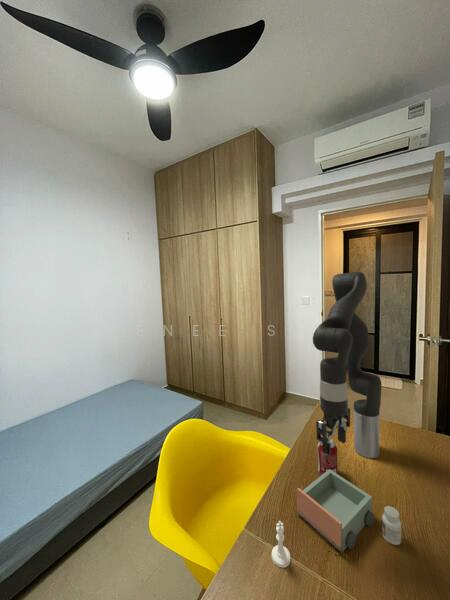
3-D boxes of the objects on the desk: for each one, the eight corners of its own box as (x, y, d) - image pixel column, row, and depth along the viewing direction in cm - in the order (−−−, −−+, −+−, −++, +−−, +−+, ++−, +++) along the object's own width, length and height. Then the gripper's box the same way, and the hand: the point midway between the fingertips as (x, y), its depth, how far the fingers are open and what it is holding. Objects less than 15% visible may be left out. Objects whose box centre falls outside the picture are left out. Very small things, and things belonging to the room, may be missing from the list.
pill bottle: (383, 526, 72) (383, 501, 71) (401, 535, 69) (401, 509, 68) (381, 539, 68) (380, 513, 68) (400, 549, 66) (400, 522, 65)
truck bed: (326, 484, 87) (326, 467, 87) (376, 519, 74) (376, 499, 73) (296, 509, 78) (296, 490, 78) (347, 555, 65) (347, 532, 64)
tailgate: (298, 510, 77) (298, 487, 76) (341, 549, 65) (342, 522, 65) (296, 512, 76) (296, 488, 76) (339, 551, 65) (340, 524, 64)
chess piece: (269, 548, 67) (268, 514, 67) (286, 545, 68) (285, 511, 67) (274, 569, 62) (273, 532, 62) (293, 566, 63) (292, 529, 62)
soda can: (339, 481, 88) (339, 449, 87) (319, 478, 90) (318, 447, 89) (335, 467, 95) (334, 437, 94) (316, 465, 96) (315, 435, 95)
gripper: (335, 383, 80) (336, 432, 81) (307, 397, 72) (308, 450, 73) (358, 391, 74) (359, 443, 75) (331, 407, 66) (332, 465, 67)
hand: (334, 447), depth 74 cm, fingers open, 7 cm apart
